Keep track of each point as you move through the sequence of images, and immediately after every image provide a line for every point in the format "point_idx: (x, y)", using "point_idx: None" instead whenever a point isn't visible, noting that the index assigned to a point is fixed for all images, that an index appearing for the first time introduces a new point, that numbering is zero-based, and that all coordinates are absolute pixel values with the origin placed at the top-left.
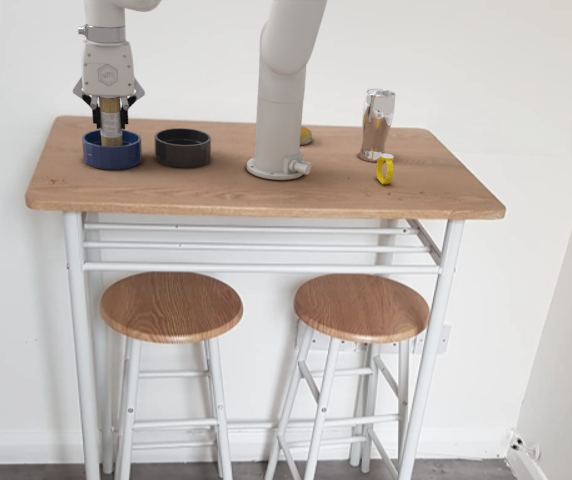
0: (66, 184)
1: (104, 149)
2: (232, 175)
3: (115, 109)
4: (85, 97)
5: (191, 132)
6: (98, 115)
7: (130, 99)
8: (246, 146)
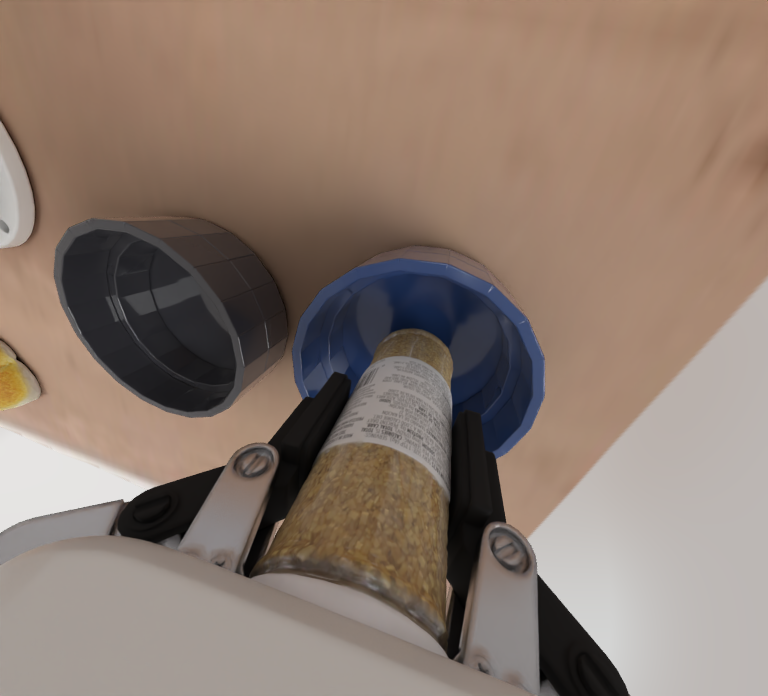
0: (731, 88)
1: (473, 273)
2: (54, 119)
3: (338, 464)
4: (600, 691)
5: (148, 387)
6: (468, 470)
7: (177, 517)
8: (86, 356)
